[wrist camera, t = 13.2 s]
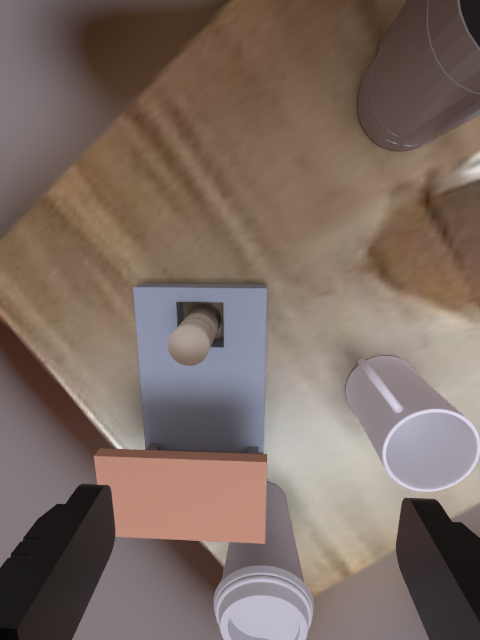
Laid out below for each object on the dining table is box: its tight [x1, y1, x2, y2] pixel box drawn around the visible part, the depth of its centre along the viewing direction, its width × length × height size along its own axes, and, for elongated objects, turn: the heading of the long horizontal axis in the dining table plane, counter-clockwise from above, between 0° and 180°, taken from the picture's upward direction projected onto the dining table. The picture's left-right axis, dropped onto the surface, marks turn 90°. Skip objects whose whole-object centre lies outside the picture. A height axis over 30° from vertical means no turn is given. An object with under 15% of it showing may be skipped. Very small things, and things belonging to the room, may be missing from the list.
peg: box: [168, 303, 221, 366], centre depth 34 cm, size 4×4×10 cm
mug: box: [345, 356, 480, 492], centre depth 34 cm, size 12×8×12 cm
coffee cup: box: [214, 482, 314, 640], centre depth 38 cm, size 10×10×15 cm
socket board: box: [94, 283, 267, 544], centre depth 34 cm, size 20×14×14 cm
